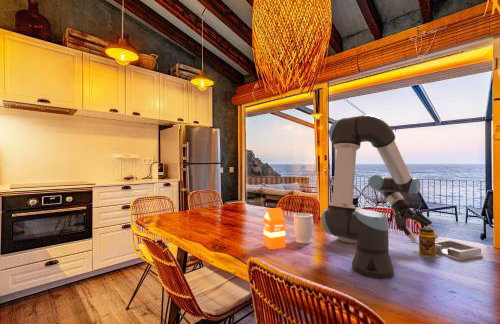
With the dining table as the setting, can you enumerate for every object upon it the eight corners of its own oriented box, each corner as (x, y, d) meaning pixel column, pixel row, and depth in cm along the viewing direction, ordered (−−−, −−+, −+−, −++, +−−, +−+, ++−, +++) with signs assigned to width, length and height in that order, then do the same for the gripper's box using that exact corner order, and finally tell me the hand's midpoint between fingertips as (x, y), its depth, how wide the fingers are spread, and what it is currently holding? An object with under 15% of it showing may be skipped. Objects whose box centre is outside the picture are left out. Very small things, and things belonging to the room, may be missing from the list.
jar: (316, 241, 137) (316, 214, 137) (307, 245, 129) (306, 217, 130) (300, 237, 144) (299, 211, 144) (290, 241, 137) (289, 214, 137)
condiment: (425, 257, 111) (424, 230, 111) (412, 250, 120) (411, 226, 120) (441, 257, 112) (440, 230, 112) (426, 250, 120) (426, 225, 120)
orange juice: (263, 245, 132) (263, 207, 132) (277, 242, 135) (277, 206, 135) (271, 249, 124) (270, 210, 125) (285, 247, 128) (285, 208, 128)
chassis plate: (458, 260, 107) (458, 252, 107) (428, 250, 120) (428, 242, 120) (482, 256, 111) (482, 248, 111) (450, 246, 124) (450, 239, 124)
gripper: (411, 205, 137) (439, 240, 123) (375, 208, 130) (400, 246, 115) (420, 197, 132) (451, 232, 117) (383, 200, 125) (410, 238, 110)
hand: (426, 239), depth 116 cm, fingers open, 13 cm apart
